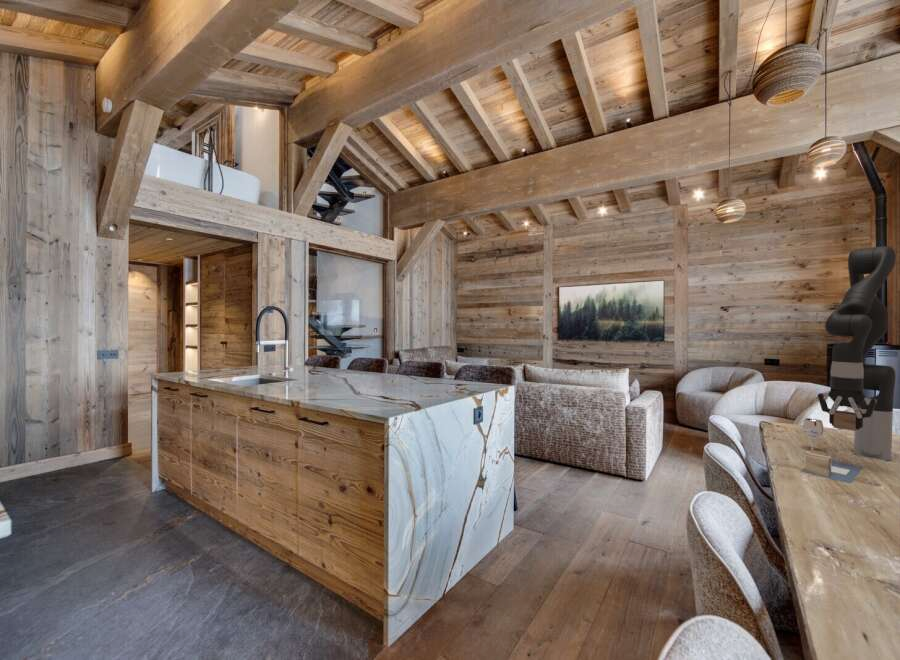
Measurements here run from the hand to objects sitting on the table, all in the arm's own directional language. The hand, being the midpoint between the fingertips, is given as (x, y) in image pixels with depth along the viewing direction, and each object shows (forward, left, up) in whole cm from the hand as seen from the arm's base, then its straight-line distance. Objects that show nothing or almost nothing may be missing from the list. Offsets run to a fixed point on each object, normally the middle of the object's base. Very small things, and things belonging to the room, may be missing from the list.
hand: (845, 427), depth 129 cm
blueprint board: (+8, -2, -14) cm, 16 cm away
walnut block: (0, 0, 0) cm, 0 cm away
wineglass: (-15, -11, -14) cm, 23 cm away
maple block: (+16, -4, -13) cm, 21 cm away
